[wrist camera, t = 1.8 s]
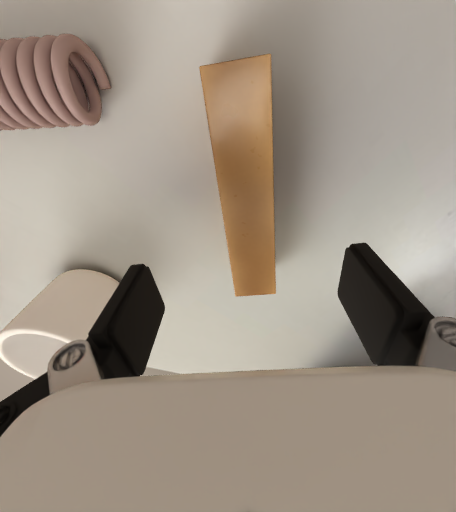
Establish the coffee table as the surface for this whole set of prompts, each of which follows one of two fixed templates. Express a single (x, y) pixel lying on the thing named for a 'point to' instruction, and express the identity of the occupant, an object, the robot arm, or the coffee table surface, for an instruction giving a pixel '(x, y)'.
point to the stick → (244, 166)
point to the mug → (55, 319)
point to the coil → (49, 83)
